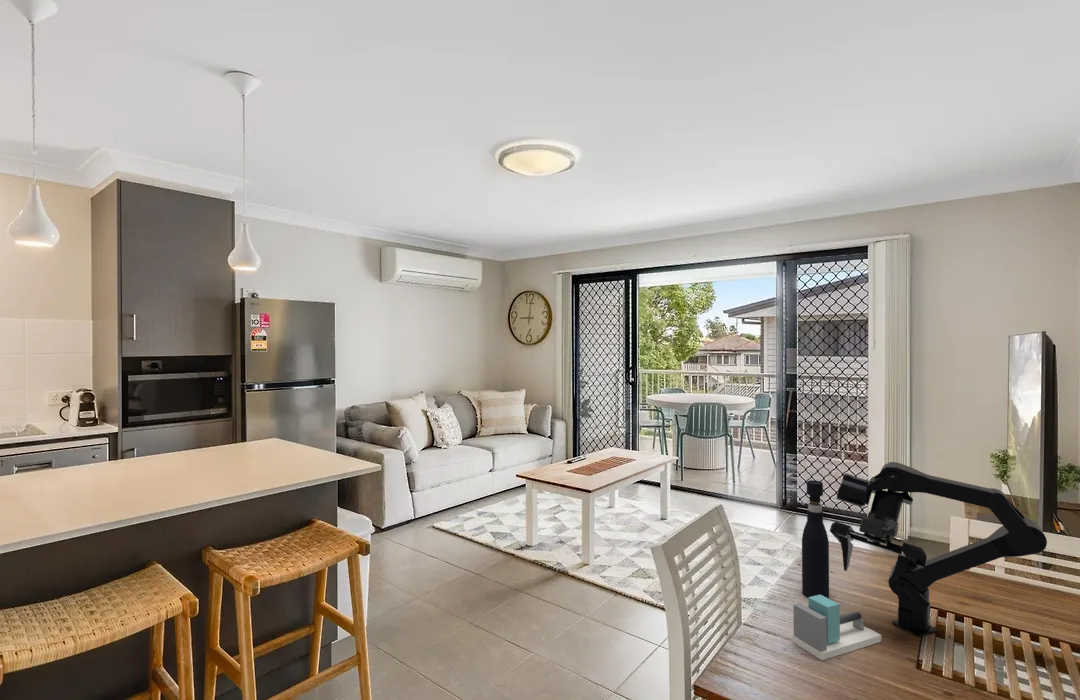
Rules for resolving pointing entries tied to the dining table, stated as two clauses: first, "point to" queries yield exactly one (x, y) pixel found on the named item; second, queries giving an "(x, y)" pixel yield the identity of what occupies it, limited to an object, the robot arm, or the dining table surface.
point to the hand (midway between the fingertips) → (867, 578)
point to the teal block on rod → (827, 615)
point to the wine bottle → (815, 546)
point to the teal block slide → (814, 633)
